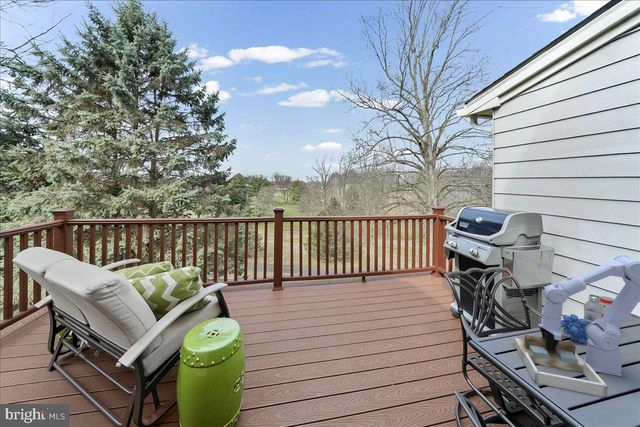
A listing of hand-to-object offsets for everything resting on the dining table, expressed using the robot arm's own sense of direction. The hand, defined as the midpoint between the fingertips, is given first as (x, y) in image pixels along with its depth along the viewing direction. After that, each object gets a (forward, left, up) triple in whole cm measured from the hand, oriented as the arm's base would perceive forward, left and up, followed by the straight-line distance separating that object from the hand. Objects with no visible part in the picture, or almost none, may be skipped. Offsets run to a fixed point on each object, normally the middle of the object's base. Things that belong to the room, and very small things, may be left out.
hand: (548, 347), depth 118 cm
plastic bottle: (-24, -25, -5) cm, 35 cm away
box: (0, +13, -4) cm, 13 cm away
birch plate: (0, 0, -4) cm, 4 cm away
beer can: (-34, -36, -5) cm, 50 cm away
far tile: (+5, +4, -1) cm, 6 cm away
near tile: (-4, +4, -1) cm, 6 cm away
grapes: (-16, -19, -5) cm, 25 cm away
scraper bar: (0, 0, -1) cm, 1 cm away
